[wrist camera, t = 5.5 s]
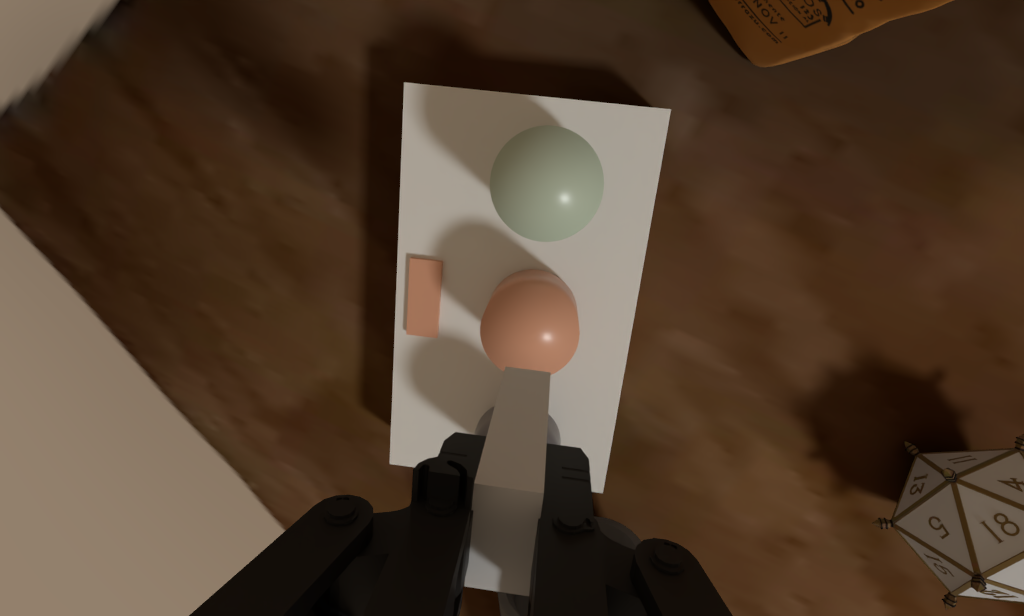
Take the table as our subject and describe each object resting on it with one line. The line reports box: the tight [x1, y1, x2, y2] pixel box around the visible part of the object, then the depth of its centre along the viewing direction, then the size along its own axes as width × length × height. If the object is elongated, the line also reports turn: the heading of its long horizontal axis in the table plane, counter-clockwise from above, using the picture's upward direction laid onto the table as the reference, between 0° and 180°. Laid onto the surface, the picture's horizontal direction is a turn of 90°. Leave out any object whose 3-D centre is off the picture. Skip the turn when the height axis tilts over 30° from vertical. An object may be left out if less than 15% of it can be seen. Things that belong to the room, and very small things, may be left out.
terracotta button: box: [480, 269, 580, 375], centre depth 25 cm, size 4×4×3 cm
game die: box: [872, 434, 1024, 610], centre depth 27 cm, size 9×8×10 cm
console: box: [390, 82, 671, 493], centre depth 28 cm, size 20×12×3 cm, turn 174°
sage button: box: [490, 125, 604, 242], centre depth 22 cm, size 4×4×3 cm
